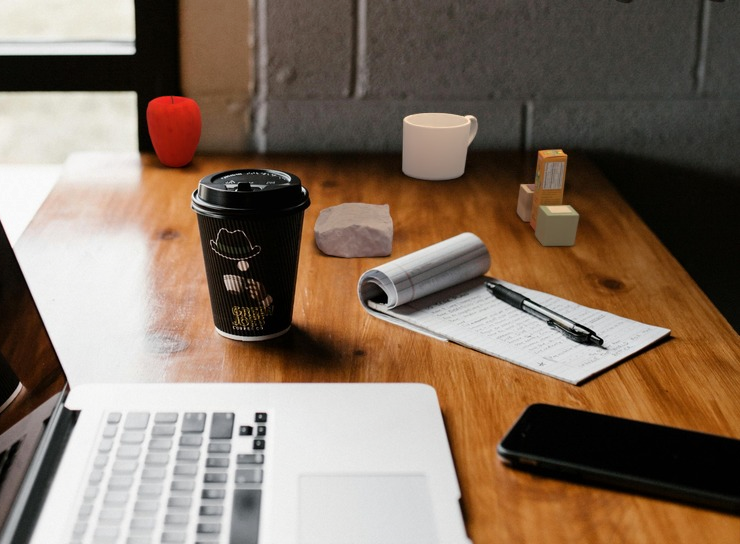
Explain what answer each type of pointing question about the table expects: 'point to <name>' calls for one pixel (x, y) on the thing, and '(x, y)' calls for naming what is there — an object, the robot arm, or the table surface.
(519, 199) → the far letter block
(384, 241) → the stone block
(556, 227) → the near letter block
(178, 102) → the apple
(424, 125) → the mug
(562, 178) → the supplement box
